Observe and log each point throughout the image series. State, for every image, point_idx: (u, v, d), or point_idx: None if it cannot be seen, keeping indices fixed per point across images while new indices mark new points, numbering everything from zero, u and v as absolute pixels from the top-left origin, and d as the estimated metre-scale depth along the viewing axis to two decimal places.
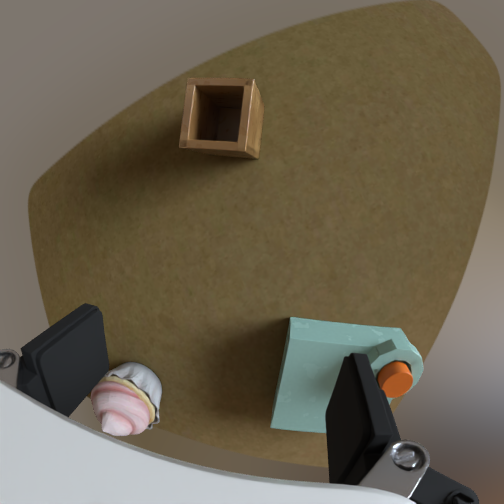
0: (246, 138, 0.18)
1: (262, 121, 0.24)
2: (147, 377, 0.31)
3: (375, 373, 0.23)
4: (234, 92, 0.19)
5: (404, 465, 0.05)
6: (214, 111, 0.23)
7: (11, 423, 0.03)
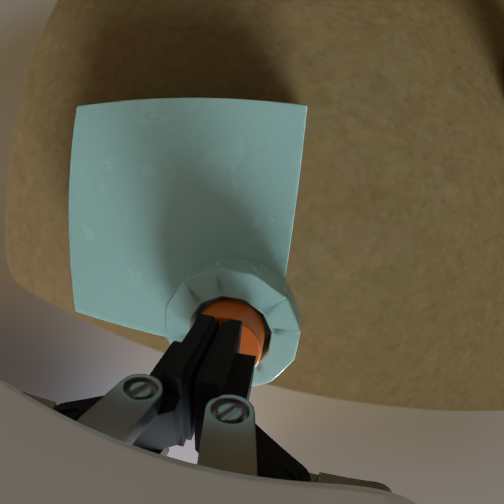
0: None
1: None
2: None
3: (239, 295, 0.12)
4: None
5: (231, 418, 0.06)
6: None
7: (11, 423, 0.03)
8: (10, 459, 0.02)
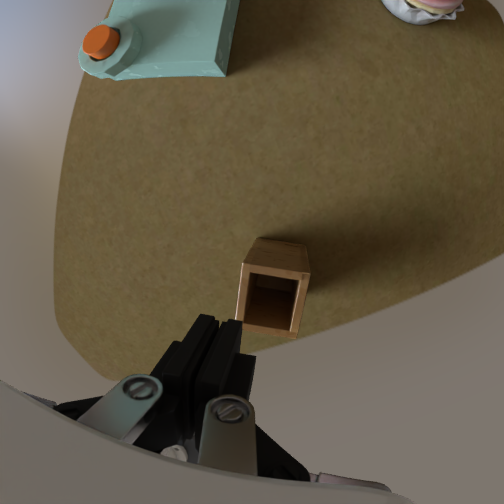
0: (241, 274, 0.20)
1: None
2: (394, 6, 0.18)
3: (121, 42, 0.18)
4: (258, 314, 0.22)
5: (231, 419, 0.06)
6: (292, 291, 0.26)
7: (11, 423, 0.03)
8: (10, 459, 0.02)
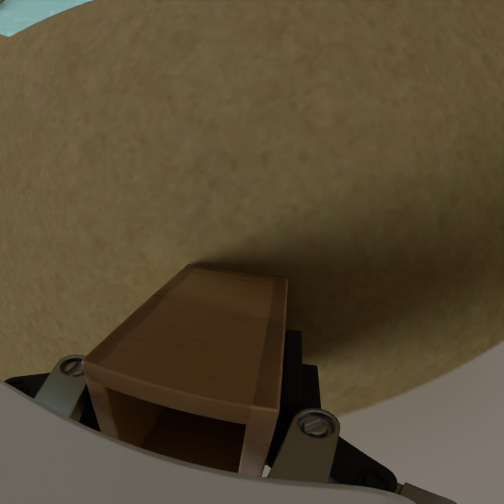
0: (89, 387, 0.06)
1: None
2: None
3: None
4: (172, 445, 0.08)
5: (315, 432, 0.06)
6: None
7: (11, 423, 0.03)
8: (10, 459, 0.02)
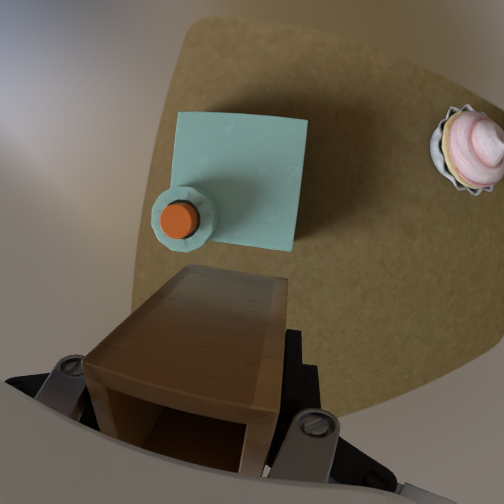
0: (89, 387, 0.06)
1: None
2: (442, 172, 0.25)
3: (201, 224, 0.26)
4: (171, 445, 0.08)
5: (315, 432, 0.06)
6: None
7: (11, 423, 0.03)
8: (10, 459, 0.02)
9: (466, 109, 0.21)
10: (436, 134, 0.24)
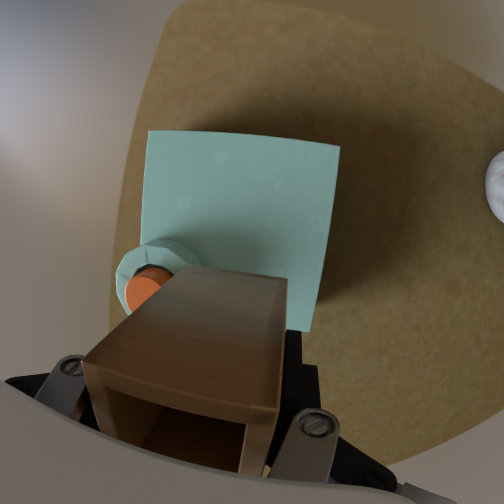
0: (88, 387, 0.06)
1: None
2: (501, 217, 0.17)
3: None
4: (171, 445, 0.08)
5: (315, 432, 0.06)
6: None
7: (11, 423, 0.03)
8: (10, 459, 0.02)
9: None
10: (499, 168, 0.16)
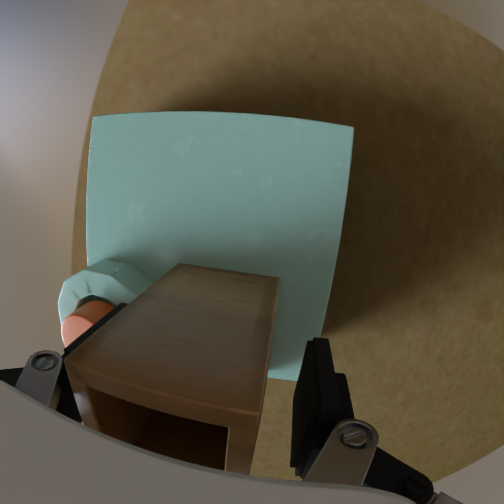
0: (72, 387, 0.06)
1: None
2: None
3: None
4: (160, 446, 0.08)
5: (353, 444, 0.06)
6: None
7: (11, 423, 0.03)
8: (10, 459, 0.02)
9: None
10: None
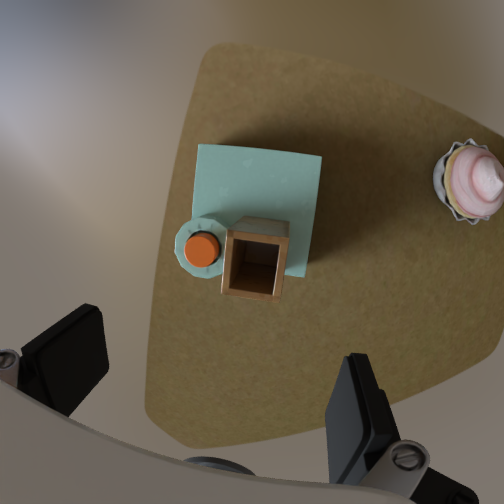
0: (226, 241, 0.22)
1: None
2: (443, 201, 0.28)
3: (223, 254, 0.28)
4: (244, 282, 0.24)
5: (404, 465, 0.05)
6: None
7: (11, 423, 0.03)
8: (10, 459, 0.02)
9: (469, 143, 0.24)
10: (439, 167, 0.26)
